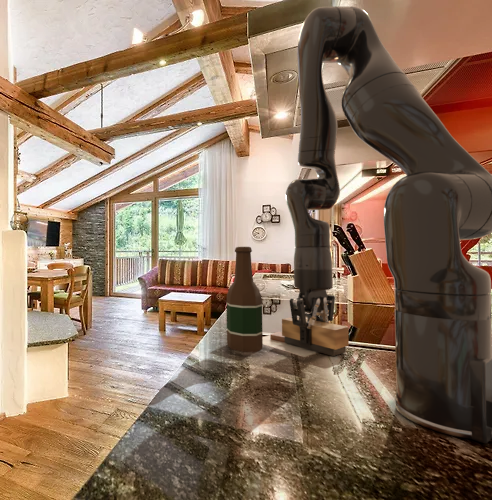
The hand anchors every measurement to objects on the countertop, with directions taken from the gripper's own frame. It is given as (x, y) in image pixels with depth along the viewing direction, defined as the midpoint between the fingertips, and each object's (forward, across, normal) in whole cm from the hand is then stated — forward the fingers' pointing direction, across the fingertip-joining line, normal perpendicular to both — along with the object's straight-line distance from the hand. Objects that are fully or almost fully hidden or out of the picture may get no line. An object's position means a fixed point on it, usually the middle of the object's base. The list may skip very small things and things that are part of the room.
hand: (313, 342), depth 67 cm
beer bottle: (+3, -12, +9) cm, 15 cm away
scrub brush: (+1, 0, 0) cm, 1 cm away
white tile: (+2, 0, +5) cm, 5 cm away
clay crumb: (+1, 0, +8) cm, 8 cm away
